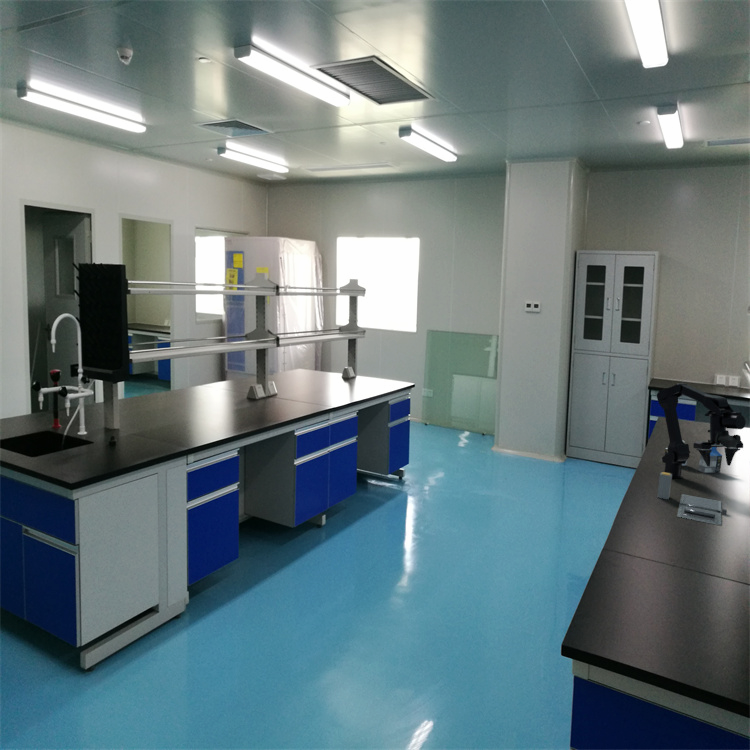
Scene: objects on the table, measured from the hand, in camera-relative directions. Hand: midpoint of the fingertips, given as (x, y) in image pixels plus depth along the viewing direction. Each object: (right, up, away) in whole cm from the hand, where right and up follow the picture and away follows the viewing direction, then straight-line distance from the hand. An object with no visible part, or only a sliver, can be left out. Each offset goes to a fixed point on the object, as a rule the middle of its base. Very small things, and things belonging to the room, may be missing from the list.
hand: (718, 465), depth 250 cm
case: (-17, -14, -19) cm, 29 cm away
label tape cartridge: (+13, -8, +32) cm, 35 cm away
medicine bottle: (+3, -6, +43) cm, 43 cm away
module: (-26, -12, -7) cm, 29 cm away
